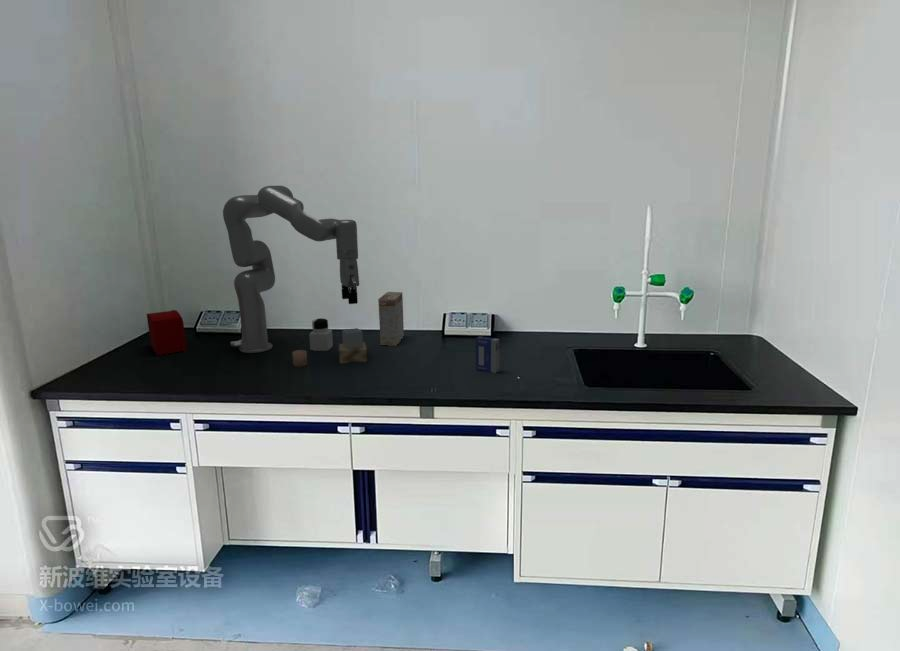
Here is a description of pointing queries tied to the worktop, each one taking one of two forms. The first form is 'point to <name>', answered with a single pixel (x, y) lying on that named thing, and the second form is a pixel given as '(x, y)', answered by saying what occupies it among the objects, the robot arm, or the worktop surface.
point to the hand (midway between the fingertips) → (349, 301)
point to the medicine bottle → (320, 335)
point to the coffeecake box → (391, 318)
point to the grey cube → (352, 338)
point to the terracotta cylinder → (299, 358)
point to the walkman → (487, 354)
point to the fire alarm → (166, 332)
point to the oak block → (352, 354)
